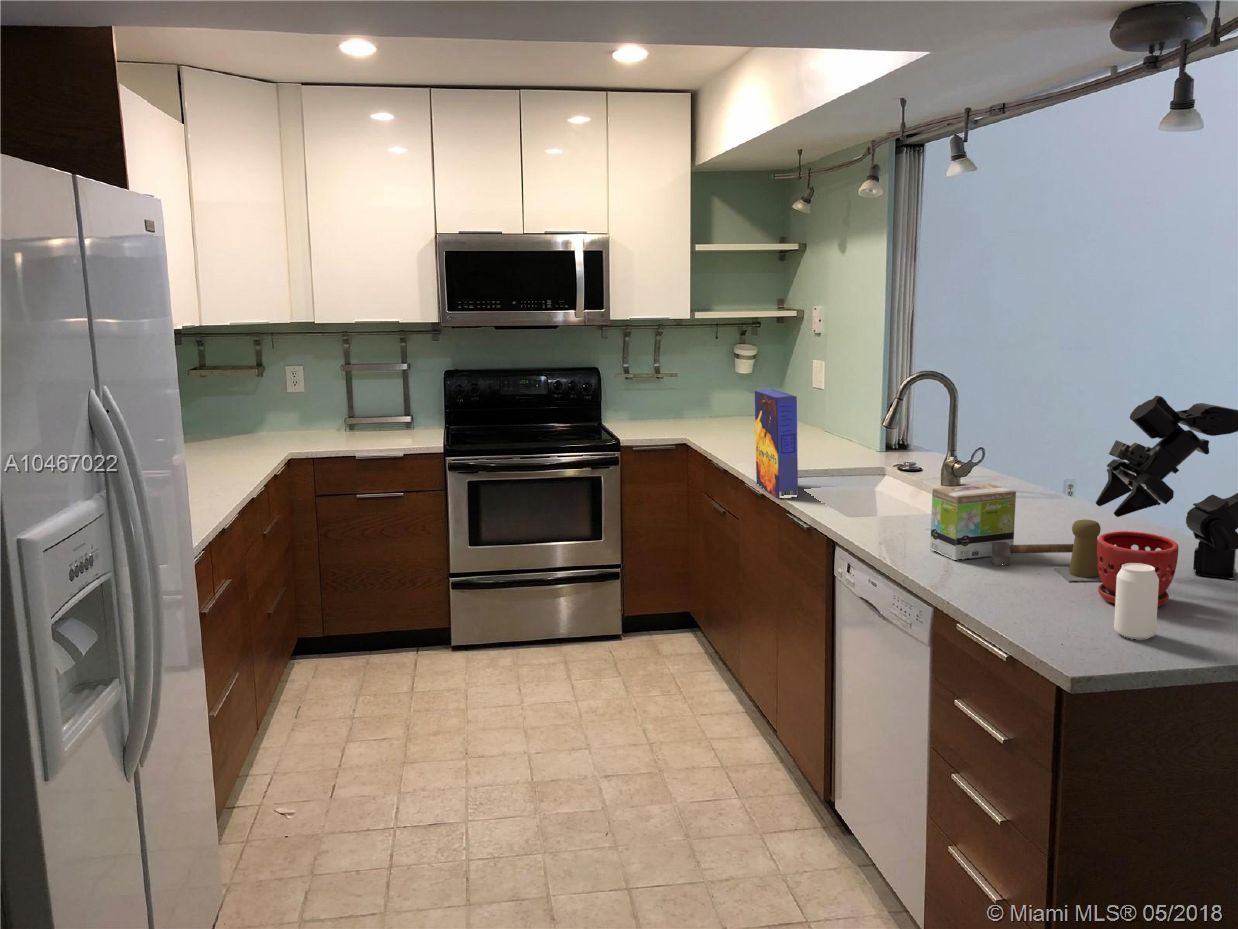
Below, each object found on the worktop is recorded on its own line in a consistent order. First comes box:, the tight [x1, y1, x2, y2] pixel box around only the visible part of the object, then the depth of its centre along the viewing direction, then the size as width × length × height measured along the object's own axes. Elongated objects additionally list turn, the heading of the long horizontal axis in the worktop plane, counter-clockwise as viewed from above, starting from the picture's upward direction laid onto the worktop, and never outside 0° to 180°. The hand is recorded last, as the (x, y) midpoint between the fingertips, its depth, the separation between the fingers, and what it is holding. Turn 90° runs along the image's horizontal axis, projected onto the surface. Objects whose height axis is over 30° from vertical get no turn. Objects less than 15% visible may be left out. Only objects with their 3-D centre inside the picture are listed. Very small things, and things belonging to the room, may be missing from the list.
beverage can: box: [1113, 563, 1159, 641], centre depth 158 cm, size 6×6×12 cm
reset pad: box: [1053, 566, 1102, 583], centre depth 192 cm, size 9×9×1 cm
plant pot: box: [1097, 530, 1179, 608], centre depth 174 cm, size 13×13×12 cm
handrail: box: [991, 542, 1103, 566], centre depth 201 cm, size 22×3×4 cm, turn 83°
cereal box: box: [754, 388, 799, 500], centre depth 282 cm, size 22×6×30 cm, turn 8°
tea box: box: [929, 483, 1017, 560], centre depth 210 cm, size 15×10×15 cm
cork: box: [1069, 519, 1102, 577], centre depth 191 cm, size 6×6×11 cm
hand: (1106, 510), depth 189 cm, fingers open, 9 cm apart
